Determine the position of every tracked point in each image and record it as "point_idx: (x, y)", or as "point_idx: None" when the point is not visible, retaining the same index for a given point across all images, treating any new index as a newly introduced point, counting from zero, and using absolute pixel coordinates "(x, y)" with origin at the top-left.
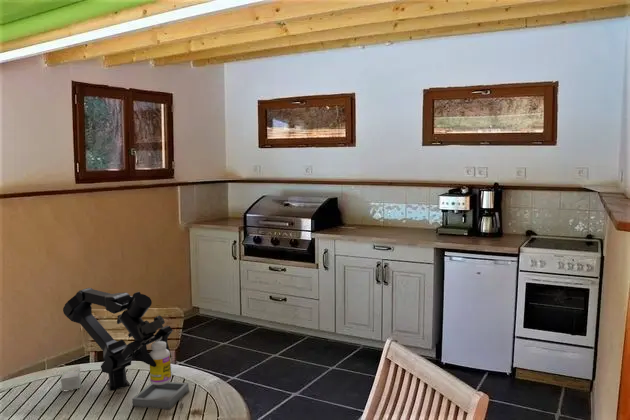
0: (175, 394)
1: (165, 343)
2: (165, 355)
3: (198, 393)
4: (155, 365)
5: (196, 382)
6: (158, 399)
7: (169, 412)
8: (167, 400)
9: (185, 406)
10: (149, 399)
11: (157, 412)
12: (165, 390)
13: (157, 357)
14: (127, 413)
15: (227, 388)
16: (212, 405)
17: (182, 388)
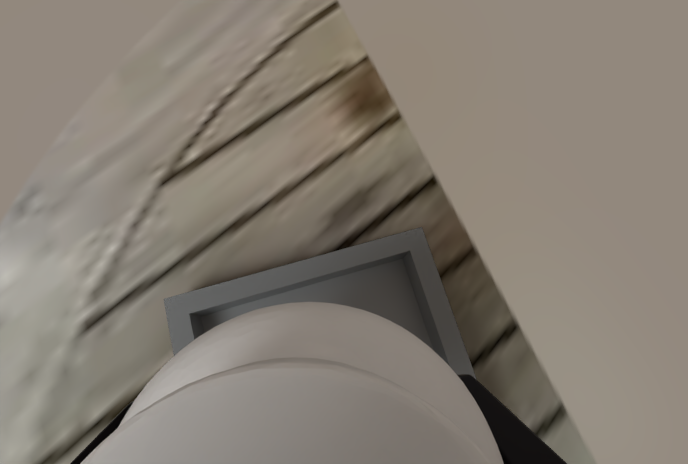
0: (333, 257)
1: (152, 423)
2: (333, 303)
3: (196, 220)
4: (470, 378)
5: (64, 340)
6: (434, 308)
7: (434, 214)
8: (416, 244)
9: (348, 182)
10: (464, 367)
11: (467, 273)
12: None
13: (461, 381)
14: (567, 434)
15: (88, 112)
16: (281, 70)
17: (246, 277)
